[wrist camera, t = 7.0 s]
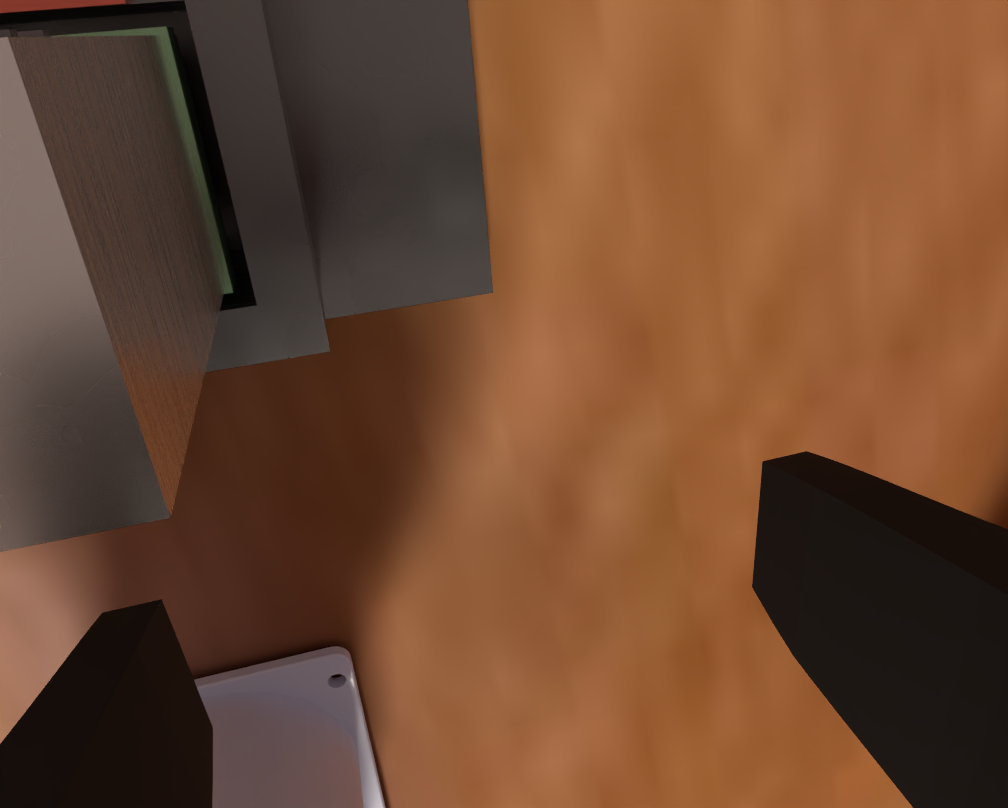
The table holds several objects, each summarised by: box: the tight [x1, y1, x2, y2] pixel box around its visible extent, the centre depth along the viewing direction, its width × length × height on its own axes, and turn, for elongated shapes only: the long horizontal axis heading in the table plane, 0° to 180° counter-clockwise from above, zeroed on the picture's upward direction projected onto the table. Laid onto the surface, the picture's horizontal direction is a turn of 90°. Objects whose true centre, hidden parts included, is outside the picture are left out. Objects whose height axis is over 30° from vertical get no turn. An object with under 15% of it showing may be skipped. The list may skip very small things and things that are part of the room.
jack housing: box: [0, 0, 493, 372], centre depth 13 cm, size 8×14×5 cm, turn 95°
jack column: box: [0, 26, 236, 552], centre depth 9 cm, size 4×4×8 cm
